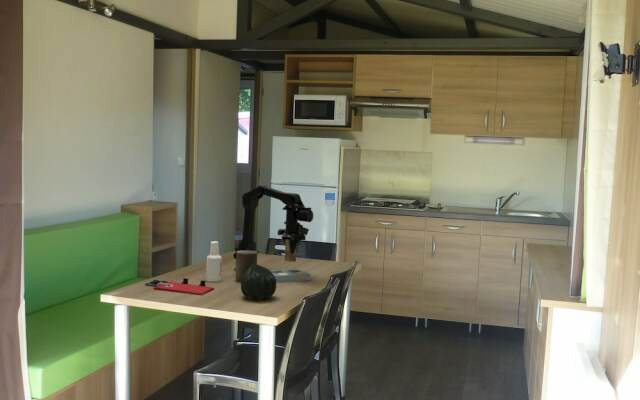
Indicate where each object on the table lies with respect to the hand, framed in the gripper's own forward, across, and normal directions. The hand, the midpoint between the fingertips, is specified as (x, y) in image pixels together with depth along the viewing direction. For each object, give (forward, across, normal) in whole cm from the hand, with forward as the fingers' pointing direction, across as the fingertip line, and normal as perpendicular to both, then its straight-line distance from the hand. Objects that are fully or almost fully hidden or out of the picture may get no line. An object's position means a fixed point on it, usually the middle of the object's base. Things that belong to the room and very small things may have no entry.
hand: (290, 252), depth 282 cm
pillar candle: (+13, +3, +21) cm, 25 cm away
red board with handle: (+14, -1, +54) cm, 56 cm away
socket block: (+13, +2, 0) cm, 13 cm away
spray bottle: (+13, +8, +35) cm, 38 cm away
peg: (+4, 0, 0) cm, 4 cm away
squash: (+13, -28, +28) cm, 42 cm away
